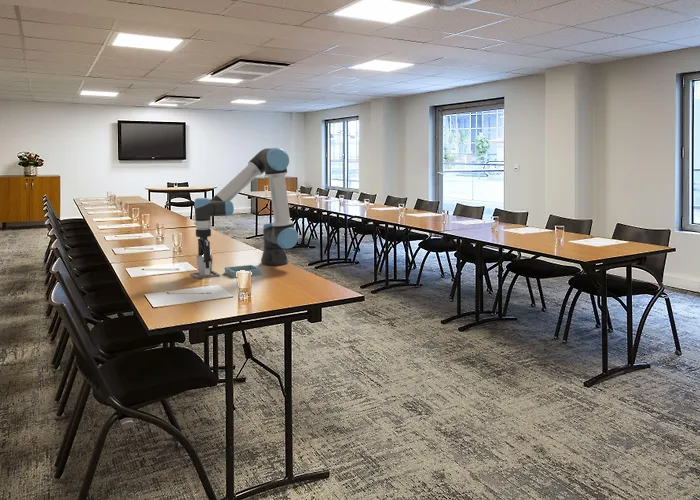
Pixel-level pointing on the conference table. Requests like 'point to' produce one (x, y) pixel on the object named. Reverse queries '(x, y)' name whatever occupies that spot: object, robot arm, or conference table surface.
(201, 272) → the cup
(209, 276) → the grey flat square frame
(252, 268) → the bin
